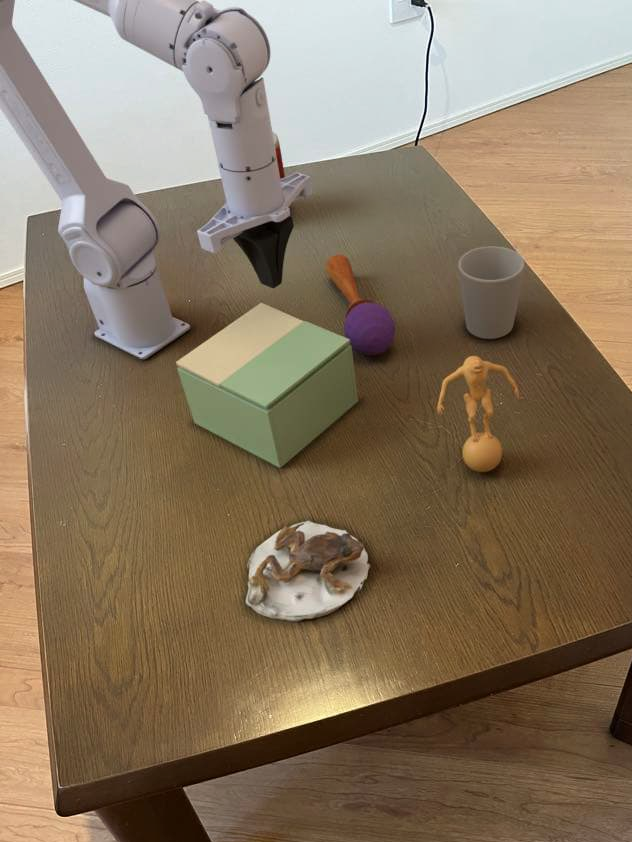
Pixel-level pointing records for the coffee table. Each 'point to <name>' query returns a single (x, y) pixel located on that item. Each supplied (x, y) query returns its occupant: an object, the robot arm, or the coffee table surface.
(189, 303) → the coffee table surface
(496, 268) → the cup
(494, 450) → the figurine
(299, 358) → the bin
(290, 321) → the bin flap
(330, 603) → the frog figurine
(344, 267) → the purple maraca
